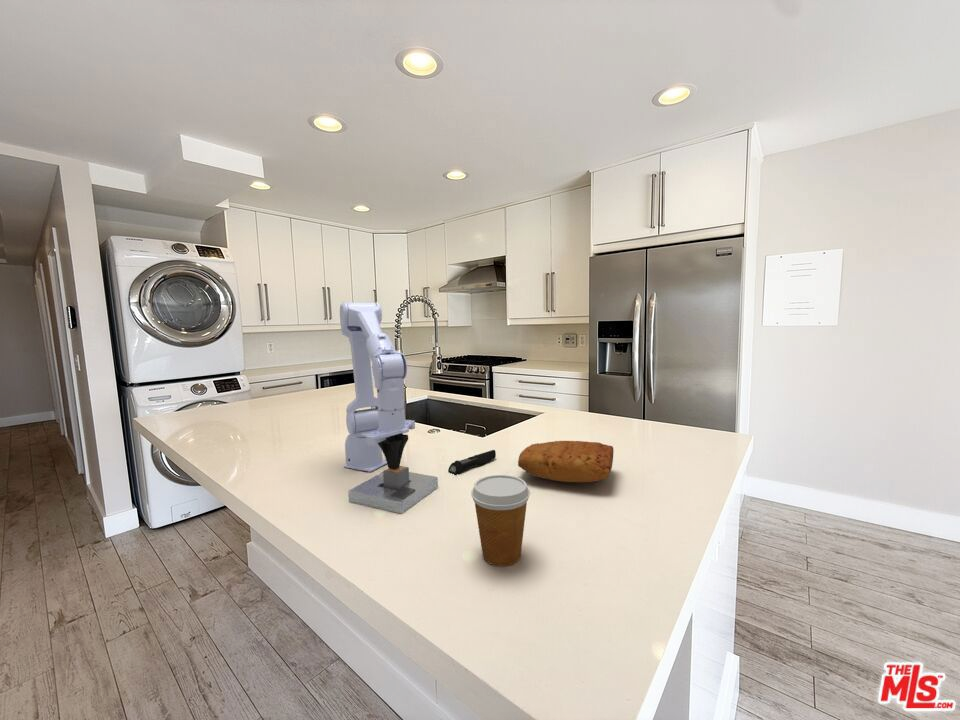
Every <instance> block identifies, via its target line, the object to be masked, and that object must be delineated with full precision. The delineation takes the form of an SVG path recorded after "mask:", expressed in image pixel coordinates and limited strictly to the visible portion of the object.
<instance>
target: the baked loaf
mask: <svg viewBox="0 0 960 720" xmlns="http://www.w3.org/2000/svg"><path fill="white" fill-rule="evenodd" d="M613 463H614V447H613V445H609V444H605V443H604V444H603V443H602V442H596V441H583V440H582V441H581V440H555V441H548V442H542V443H541V442H540V443H538V442H537V443H533V444H530V445H528V446H527V447H525V448H524V449H523V450H522V451H521V452H520V453H519V455H518V461H517V465H518V467H519V468H521V470H524V471H525V472H527V473H528V474H529V475H533V476H534V477H536V478H537V477H539V478H542V479H547V480H551V481H555V482H564V483H594V482H597V481H602V480H606V479H607V478H608V477H609V476H610V473H611V471H612V469H613Z"/></svg>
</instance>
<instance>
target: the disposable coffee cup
mask: <svg viewBox="0 0 960 720" xmlns="http://www.w3.org/2000/svg"><path fill="white" fill-rule="evenodd" d="M530 495H531V492H530V490H529V489H528V484H527V482H526V481H525V480H524V479H522V478H520V477H518V476H515V475H509V474H491V475H486V476H484V477H481V478H478V480H476V481H475V483H474V485H473V488H472V490H471V495H470V496H471V498H472V500H473V502H474V507H475V512H476V519H477V525H478V533H479V539H480V547H481V552H482V554H481V555H482V557H483V560H484V561H485V562H486V563H488V564H490V565H493V566H496V567H507V566H512V565H514V564H516V563H518V561H519V560H520V559H521V556H522V549H523V548H522V547H523V540H524V539H523V537H524V530H525V529H524V528H525V521H526V512H527V505H528V503H527V502H528V501H529V499H530Z"/></svg>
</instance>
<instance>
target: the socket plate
mask: <svg viewBox="0 0 960 720" xmlns="http://www.w3.org/2000/svg"><path fill="white" fill-rule="evenodd" d="M437 487H438V488H439V477H438V476H434V475H429V474H424V473H418V472H417V473H416V472H412V471H409V483H408V484H406V485H405V486H403V487H402V488H400V489H398V490H393V489H388V488H384V480H383V471H382V472H380V473H378V474H376V475H375V476H373V477H371V478H369V479H367V480H366V481H364V482H362V483H359V484H358V485H356V486H355V487H353V488H351V489H349V490H348V502H349V503H353V504H357V505H361V506H366V507H370V508H375V509H380V510H384V511H388V512H392V513H396V514H401V515H402V514H404V513H405V512H406V511H408V510H409V509H410V508H412V507H413V506H414V505H416V504H418V503H419V502H420V501H421V500H423V499H424V498H426V497H427V496H429V495H430V494H431V493H432V492H433V491H435V490H437V489H438V488H437ZM429 493H430V494H429ZM418 501H419V502H418Z"/></svg>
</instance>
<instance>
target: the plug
mask: <svg viewBox="0 0 960 720" xmlns="http://www.w3.org/2000/svg"><path fill="white" fill-rule="evenodd" d="M382 472H383V480H384V488H388V489H393V490H398V489H400V488H402V487H403V486H405V485H406V484H408V483H409V472H410V467H408V466H403V465H400V467H399V468H398V469H390V468H389V467H388V468H386V469H384V470H383V471H382Z"/></svg>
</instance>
